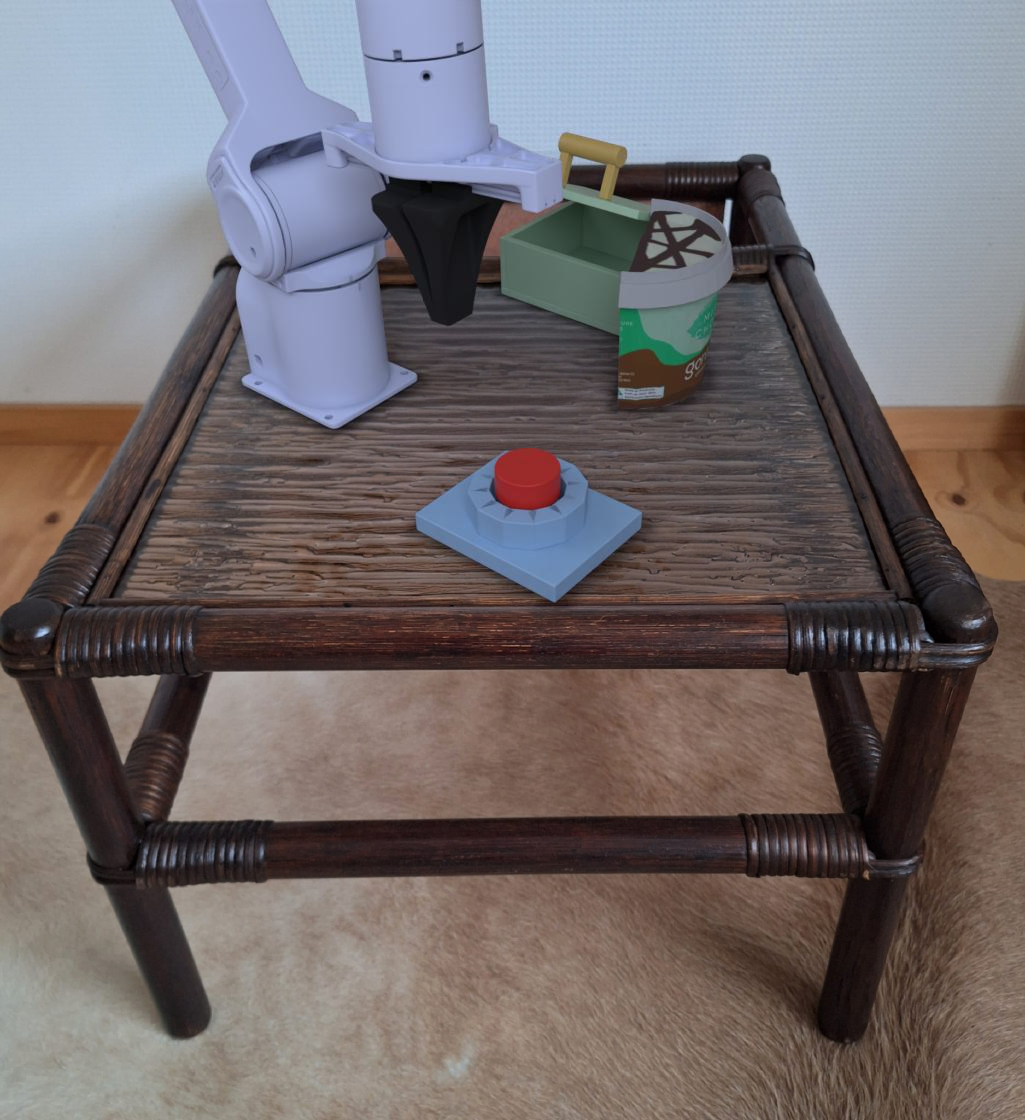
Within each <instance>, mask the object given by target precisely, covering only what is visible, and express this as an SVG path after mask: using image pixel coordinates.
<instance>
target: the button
mask: <svg viewBox="0 0 1025 1120" xmlns="http://www.w3.org/2000/svg"><path fill="white" fill-rule="evenodd" d="M508 451H509V452H507V453H505V454H504V455H502V456H501V457H500V458H499V459H498V460H497V461H496V463H495V467H494V473H495V494H496V497H497V499H498V500H499V502H500V503H502V504H503V505H504V506H506V507H508V508H510V509H520V510H532V511H533V510H537V509H541V508H545V507H549V506H551V505H552V504H554V503H555V502H556V501H557V499H558V498H559V496H560V492H561V466H560V462H559V461H558V459H557V458H558V457H557V456H555V455H554V454H552V453H551V452H549V451H546V450H545V449H541V448H535V447H523V448H516V449H513V450H508ZM556 457H557V458H556Z"/></svg>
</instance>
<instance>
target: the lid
mask: <svg viewBox="0 0 1025 1120" xmlns="http://www.w3.org/2000/svg"><path fill="white" fill-rule="evenodd" d="M557 147H558V151H559V152H560V154H559V158H558V160H561V161H562V187H563V200H566V201H574V202H577V203H581V204H584V205H588V206H591V207H595V208H598V209H601V210H605V211H608V212H612V213H615V214H619V215H622V216H626V217H629V218H632V219H636V220H642V221H648V222H649V221H650V215H651V204H646V203H643V202H639V201H635V200H632V199H628V198H625V197H621V196H618V195H615V194H614V192H615V187H616V183H617V179H618V176H619V172H620V168H623V167H624V166H625V164H626V162H627V159H628V149H627V147H626V146H624V145H619V144H615V143H611V142H607V141H603V140H600V139H595V138H591V137H587V136H583V135H581V134H580V135H579V134H575V133H571V132H567V131H566V132H563V133H561V135H560V137H559V139H558V143H557ZM574 157H575V158H580V159H584V160H587V161H591V162H595V163H598V164H602V165H603V164H604V165H606V167H605V171H604V174H603V178H602V182H601V187H600V190H597V189H593V188H589V187H586V186H583V185H582V186H581V185H577V184H571V183H568V182H569V181H568V180H569V176H570V172H571V169H572V163H573V160H574Z"/></svg>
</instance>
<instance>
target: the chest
mask: <svg viewBox="0 0 1025 1120" xmlns="http://www.w3.org/2000/svg"><path fill="white" fill-rule="evenodd" d="M648 224H649V222H648V221H642V220H636V219H632V218H629V217H626V216H622V215H619V214H615V213H612V212H608V211H605V210H601V209H598V208H595V207H591V206H588V205H584V204H581V203H577V202H574V201H570V200H568V201H567V202H565V203H563V204H561V205H559V206H557V207H556V208H553V209H551V210H549V211H548V212H546V213H543V214H542V215H540V216H538V217H536V218H534V219H532V220H531V221H528V222H527V223H525V224H522V225H521V226H519V227H517V228H515V229H513V230H511V231H509V232H508V233H505V234H504V235H501V236H500V237H499V260H500V261H499V262H500V286H501V287H500V288H501V290H500V291H501V292H500V293H501V295H504V296H506V297H510V298H512V299H515V300H518V301H521V302H523V303H527V304H529V305H532V306H535V307H538V308H540V309H542V310H546V311H548V312H551V313H553V314H557V315H560V316H562V317H565V318H567V319H570V320H571V319H572V320H573V321H576V322H579V323H582V324H585V325H587V326H591V327H592V328H595V329H599V330H600V331H604V332H606V333H610V334H612V335H615V336H619V335H620V308H618V305H619V292H620V283H621V271H624V272H629V270H630V267H631V265H632V262H633V259H634V256H635V254H636V251H637V248H638V244H639V241H640V239H641V237H642V236H643V234H644V232H645V230H646V228H647V226H648Z"/></svg>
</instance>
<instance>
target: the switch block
mask: <svg viewBox="0 0 1025 1120" xmlns="http://www.w3.org/2000/svg"><path fill="white" fill-rule="evenodd" d="M509 451H510V450H504V451H502V452H501V453H500V454H498V455H497V456H495V457H494V458H493V459H491V460H490V461H488V462H487V463H486V464H484V465H482V466H481V467H479V468H478V469H477V470H475V471H474V472H473V473H471V474H469V475H468V476H467V477H465V478H464V479H463V480H461V481H460V482H458V483H457V484H455V485H454V486H453V487H451V488H449V489H448V490H447V491H445V492H444V493H443V494H441V495H440V496H438V497H437V498H435V499H433V500H432V502H430V503H429V504H427V505H426V506H424V507H423V508H421V509H420V510H418V511H417V512H416V513H414V514H415V515H414V516H415V526H416V530H417V531H418V532H419V533H422V534H424V535H426V536H428V537H429V538H431V539H434V540H435V541H436V542H439V543H440V544H443V545H445V546H447V547H448V548H450V549H452V550H454V551H456V552H458V553H460V554H462V555H463V556H465V557H467V558H470V559H471V560H473V561H475V562H477V563H478V564H480V565H482V566H484V567H486V568H488V569H490V570H492V571H494V572H495V573H497V574H500V575H501V576H503V577H505V578H507V579H509V580H511V581H512V582H514V583H515V584H518V585H519V586H522V587H524V588H526V589H527V590H529V591H531V592H533V593H535V594H536V595H539V596H541V597H542V598H544V599H546V600H548V601H550V602H552V603H554V604H555V603H556V602H558V601H559V600H560V599H561V598H562V597H563V596H564V595H566V594H567V593H568V592H569V591H570V590H571V589H573V588H574V587H576V585H577V584H579V582H581V581H582V580H583V579H584V578H586V577H587V575H589V574H590V573H591V572H592V571H594V570H595V569H596V568H597V567H598V566H599V565H601V564H602V563H603V562H604V561H605V560H606V559H607V558H609V557H610V556H611V555H612V554H613V553H614V552H615V551H616V550H618V549H619V548H620V547H622V545H624V544H625V543H626V542H627V541H628V540H629V539H630V538H631V537H633V536H634V535H635V534H637V532H639V531H640V530H641V529H642V523H643V522H642V521H643V512H642V511H641V510H639V509H637V508H634V507H632V506H630V505H628V504H626V503H624V502H621V501H619V500H617V499H614V498H612V497H611V496H608V495H606V494H604V493H602V492H599V491H597V490H594V489H592V488H590V487H589V482H588V480H587V478H586V477H585V476H584V474H583V473H582V472H581V470H580V469H579V468H578V466H577V465H575V464H573V463H570V462H569V461H567V460H564V459H562V458H560V457H557V456H555V457H556V458H557V459H558V461H559V462H560V466H561V492H560V496H559V498H558V499H557V501H556V502H555V503H554V504H552V505H551V506H549V507H545V508H541V509H537V510H533V511H532V510H520V509H510V508H508V507H506V506H504V505H503V504H502V503H500V502H499V500H498V499H497V497H496V494H495V473H494V467H495V463H496V461H497V460H498V459H499V458H500V457H501V456H502V455H504V454H505V453H507V452H509Z"/></svg>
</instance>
